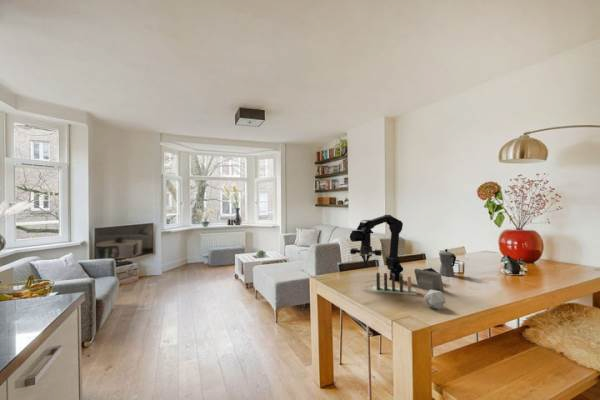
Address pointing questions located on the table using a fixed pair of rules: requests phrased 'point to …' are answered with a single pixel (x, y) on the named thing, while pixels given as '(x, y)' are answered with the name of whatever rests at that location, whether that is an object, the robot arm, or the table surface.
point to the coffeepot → (447, 263)
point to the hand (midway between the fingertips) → (366, 265)
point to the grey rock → (434, 299)
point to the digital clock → (428, 280)
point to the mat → (397, 290)
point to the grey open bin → (430, 270)
